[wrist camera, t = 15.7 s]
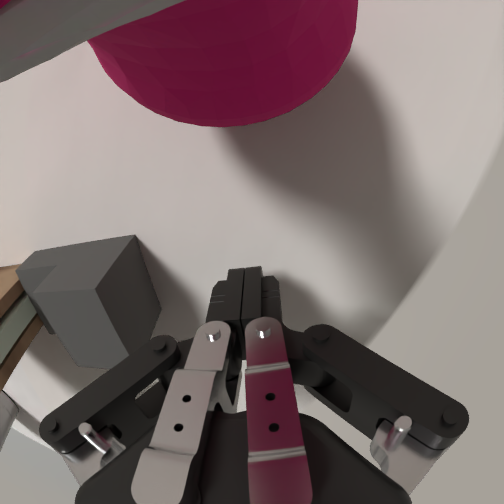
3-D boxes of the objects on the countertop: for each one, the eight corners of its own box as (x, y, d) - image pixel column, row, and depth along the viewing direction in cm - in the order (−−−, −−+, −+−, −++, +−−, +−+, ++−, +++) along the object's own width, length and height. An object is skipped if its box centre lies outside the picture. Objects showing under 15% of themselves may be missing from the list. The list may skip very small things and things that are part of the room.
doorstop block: (65, 310, 18) (33, 360, 14) (36, 250, 16) (-9, 294, 11) (162, 307, 17) (138, 370, 13) (136, 233, 15) (94, 288, 11)
